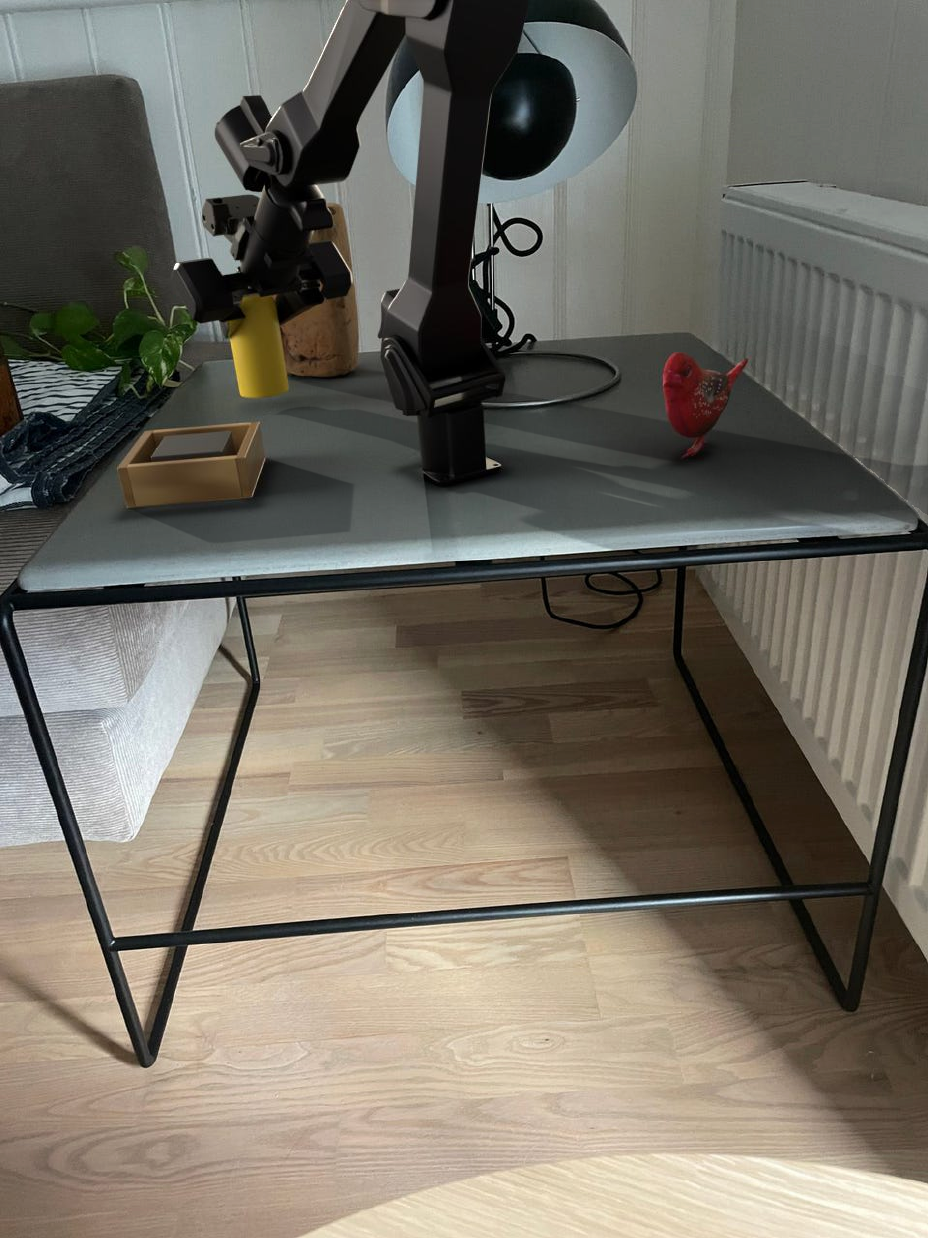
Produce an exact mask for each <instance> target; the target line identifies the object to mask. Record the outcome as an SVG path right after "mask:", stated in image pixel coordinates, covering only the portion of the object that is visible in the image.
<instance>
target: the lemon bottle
mask: <svg viewBox="0 0 928 1238" xmlns="http://www.w3.org/2000/svg"><path fill="white" fill-rule="evenodd" d="M235 273H238V272H237V271H236V272H235ZM240 307H241V309H242V310H243V312H244V314H245V316H246V318H245V319H244V321H243V322H242V323H241V324H240V326H239V327H238V329H237V330H236V331H235V333H234V334H233V335H232V336H231V337H230V338H229V341H230V346H231V353H232V357H233V363H234V369H235V374H236V380H237V386H238V391H239V395H240V396H241V397H242V398H248V399H261V398H262V399H263V398H269V397H275V396H279V395H282V394H285V393H287V392H288V391H289V389H290V386H289V385H290V384H289V380H288V374H287V372H286V365H285V359H284V352H283V346H282V339H281V333H280V326H279V320H278V313H277V307H276V303H275V301H274V299H273V297H272V295H271V296H265V297H260V295H259V294H258V295H253V296H247V297H243V300H242V302H241V303H240Z"/></svg>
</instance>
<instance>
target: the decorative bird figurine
mask: <svg viewBox="0 0 928 1238" xmlns="http://www.w3.org/2000/svg"><path fill="white" fill-rule="evenodd" d="M748 362H749V357H748V358H744V359H743V360H742V361H740V362H739V363H738V364H737V365H736V366H735V367H733V368H732V369H731V370H730V371H729V372H728V373H726V374H724V373H722V372H720V371H717V370H712V369H702V368H700V367H699V366H700V365H698V363H697V362H696V360H695V359H694V357H692V355H691V356H690V355H689V354H688V353H684V352H680V351H679V352H678V351H676V352H674V353H672V354H670V356H669V357H668V359H667V361H666V363H665V365H664V368H663V374H662V390H663V391H662V392H663V396H664V402H665V411H666V415H667V419H668V421H669V423H670V425H671V427H672V428H673V430H674V431H675V432H676V433H677V434H679V435H680V436H682V437H684V438H689V439H695V438H696V440H695V442H693V445H692V446H691V447H690V448H688V449H687V451H686V453H684V454H683V455H682V456H681V458H680V460H682V459H684V458H687V457H694V456H695V455H696V454H697V453H698V452H699V451H700V450H702V449H703V448H704V445H707V444H708V443H707V441H706V440H704V438H705V436H706V435H707V433H709V432H710V431H712V429H714V427H715V426H716V424H717V423H718V421H719V419H720V418H721V416H722V413H723V412H724V410H725V409H726V407H727V405H728V403H729V400H730V395H731V392H732V388H733V385H734V384H735V382H736V380H737V379H738V378H739V376H740V375H741V373H742V372H743V370H744V369H745V367H746V366H747V364H748Z"/></svg>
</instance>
